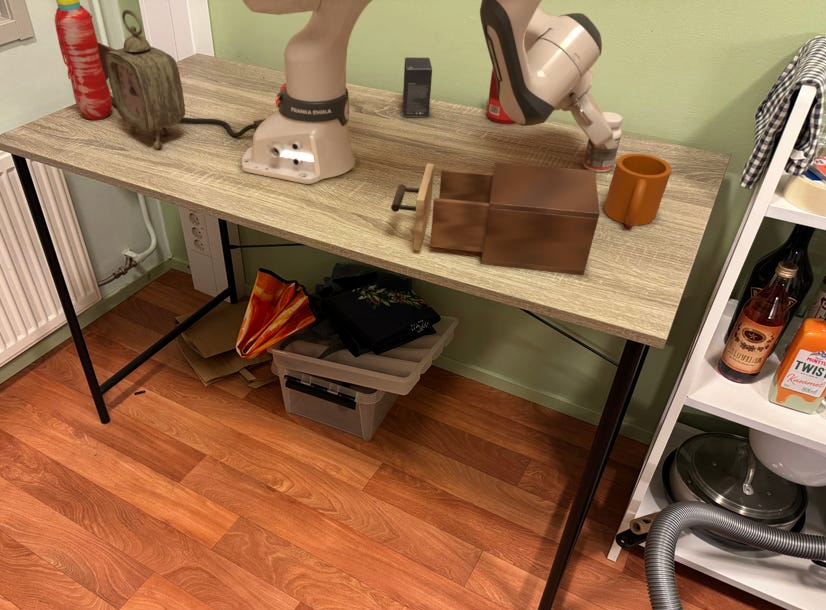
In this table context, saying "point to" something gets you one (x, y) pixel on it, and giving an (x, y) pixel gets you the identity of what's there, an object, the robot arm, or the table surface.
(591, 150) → the pill bottle
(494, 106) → the canned food
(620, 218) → the mug
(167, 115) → the tabletop clock
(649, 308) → the table surface
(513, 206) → the cabinet
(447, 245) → the drawer
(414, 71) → the box
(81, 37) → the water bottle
